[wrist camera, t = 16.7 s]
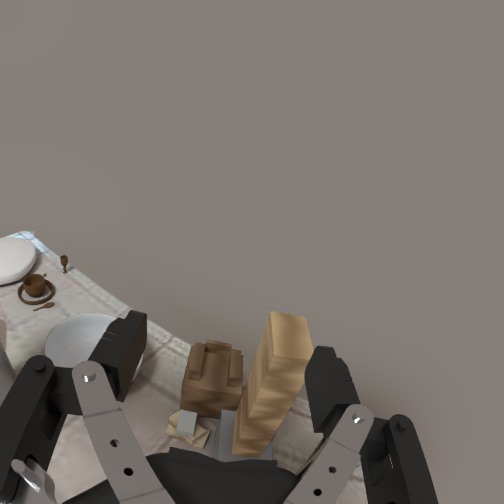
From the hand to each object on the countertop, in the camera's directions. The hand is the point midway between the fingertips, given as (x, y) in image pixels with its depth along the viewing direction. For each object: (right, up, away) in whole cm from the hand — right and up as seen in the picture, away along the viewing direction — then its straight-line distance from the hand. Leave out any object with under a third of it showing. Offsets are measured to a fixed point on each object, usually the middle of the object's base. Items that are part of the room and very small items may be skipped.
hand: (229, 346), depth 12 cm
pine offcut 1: (-10, -26, +28) cm, 40 cm away
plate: (-81, -1, +52) cm, 96 cm away
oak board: (0, -24, +23) cm, 33 cm away
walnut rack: (-7, -25, +38) cm, 46 cm away
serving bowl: (-31, -20, +36) cm, 51 cm away
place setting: (-58, -7, +52) cm, 78 cm away
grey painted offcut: (-10, -25, +27) cm, 38 cm away
